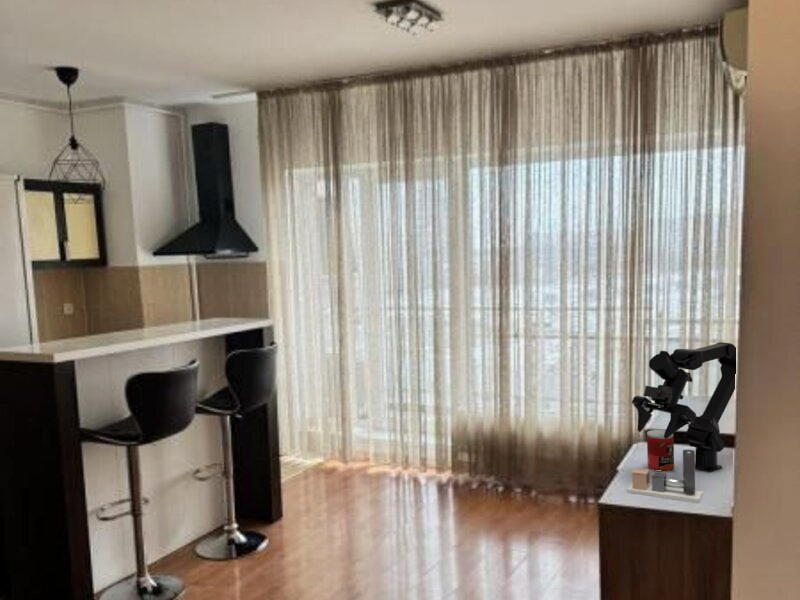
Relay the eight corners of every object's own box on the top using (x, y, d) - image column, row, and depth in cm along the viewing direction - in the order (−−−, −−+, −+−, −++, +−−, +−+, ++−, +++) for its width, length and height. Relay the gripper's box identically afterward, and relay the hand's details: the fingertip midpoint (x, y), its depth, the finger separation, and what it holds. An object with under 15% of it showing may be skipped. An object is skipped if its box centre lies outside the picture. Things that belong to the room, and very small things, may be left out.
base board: (703, 495, 195) (703, 491, 195) (699, 502, 189) (699, 499, 189) (633, 485, 205) (632, 481, 205) (627, 492, 200) (627, 489, 200)
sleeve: (666, 488, 198) (666, 473, 198) (664, 492, 196) (663, 477, 195) (654, 486, 200) (654, 472, 200) (652, 490, 197) (651, 476, 197)
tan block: (649, 485, 201) (649, 469, 201) (646, 490, 198) (646, 474, 197) (636, 483, 203) (635, 467, 203) (632, 488, 200) (632, 472, 199)
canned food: (662, 473, 214) (661, 438, 213) (642, 466, 221) (641, 432, 220) (680, 468, 217) (679, 433, 216) (659, 462, 224) (658, 428, 223)
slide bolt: (696, 491, 194) (695, 450, 193) (694, 494, 192) (693, 453, 191) (654, 485, 200) (653, 445, 199) (652, 488, 197) (651, 448, 196)
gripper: (632, 369, 211) (610, 415, 207) (685, 378, 195) (663, 428, 191) (652, 387, 216) (631, 432, 212) (706, 397, 200) (685, 446, 196)
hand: (651, 434), depth 203 cm, fingers open, 9 cm apart
